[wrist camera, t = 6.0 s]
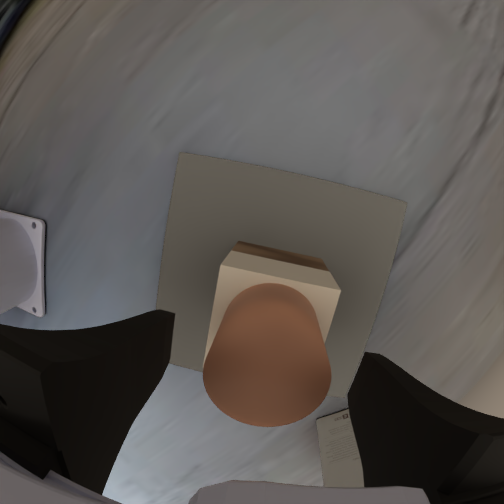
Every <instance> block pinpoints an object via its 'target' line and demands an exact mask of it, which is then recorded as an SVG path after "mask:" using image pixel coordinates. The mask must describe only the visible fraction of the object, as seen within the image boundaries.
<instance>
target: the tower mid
mask: <svg viewBox="0 0 504 504" xmlns="http://www.w3.org/2000/svg"><path fill="white" fill-rule="evenodd" d="M263 283H278V284H283V285H286V286H289V287H291V288H294V289H296V290H297V291H299V292H300V293H301V294H303V295H304V296H305V297H306V298H307V299H308V300H309V302H310V303H311V305H312V306H313V308H314V310H315V313H316V316H317V320H318V323H319V327H320V330H321V334H322V337H323V341H324V344H325V341H326V338H327V335H328V332H329V329H330V325H331V322H332V319H333V316H334V313H335V309H336V306H337V303H338V299H339V296H340V292H341V289H340V288H339V286H338V284H337V283H336V281H335V280H334V278H333V276H332V275H331V273H330V272H329V271H324V270H319V269H315V268H310V267H306V266H301V265H296V264H292V263H287V262H282V261H278V260H273V259H269V258H264V257H259V256H255V255H250V254H245V253H241V252H236V251H232V250H231V251H230V253H229V254H228V255H227V257H226V258H225V259H224V261H223V262H222V263H221V265H220V270H219V276H218V281H217V287H216V292H215V298H214V304H213V309H212V315H211V321H210V327H209V333H208V339H207V345H206V351H205V357H204V363H205V360H206V357H207V355H208V352H209V350H210V347H211V345H212V343H213V340H214V338H215V335H216V333H217V331H218V328H219V326H220V324H221V321H222V319H223V316H224V314H225V312H226V309H227V307H228V305H229V304H230V303H231V301H232V300H233V299H234V298H235V297H236V296H237V295H238V294H239V293H240V292H242V291H243V290H245V289H247V288H249V287H251V286H254V285H257V284H263ZM204 363H203V367H204Z"/></svg>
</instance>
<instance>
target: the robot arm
mask: <svg viewBox="0 0 504 504" xmlns="http://www.w3.org/2000/svg"><path fill="white" fill-rule="evenodd" d="M35 224H36V227H35ZM44 243H45V223H44V221H43V220H41V219H37V218H33V217H29V216H25V215H21V214H17V213H13V212H9V211H5V210H1V209H0V314H2V313H4V312H6V311H8V310H10V309H12V308H13V307H15V306H17V307H19V308H21V309H23V310H25V311H27V312H29V313H31V314H34V315H36V316H38V317H43V316H44V315H45V298H44ZM35 308H36V309H35ZM174 321H175V313H173V312H169V311H165V310H161V309H158V310H154V311H150V312H147V313H144V314H141V315H138V316H135V317H132V318H128V319H125V320H122V321H118V322H114V323H110V324H106V325H102V326H97V327H92V328H84V329H76V330H34V329H25V328H18V327H13V326H7V325H2V324H0V504H122V503H119V502H116V501H114V500H112V499H109V498H107V497H104V496H102V493H103V491H104V488H105V485H106V482H107V480H108V477H109V475H110V472H111V470H112V467H113V465H114V462H115V460H116V458H117V456H118V453H119V451H120V449H121V447H122V444H123V442H124V440H125V438H126V436H127V434H128V432H129V430H130V427H131V425H132V424H133V422H134V420H135V419H136V417H137V415H138V414H139V412H140V411H141V409H142V408H143V406H144V405H145V403H146V402H147V400H148V399H149V397H150V396H151V394H152V393H153V391H154V390H155V388H156V387H157V385H158V384H159V382H160V380H161V379H162V377H163V375H164V372H165V370H166V368H167V366H168V364H169V361H170V358H171V348H172V339H173V330H174ZM348 407H349V415H350V419H351V423H352V427H353V431H354V435H355V439H356V443H357V447H358V450H359V454H360V458H361V463H362V469H363V479H364V487H360V488H347V487H318V486H303V485H292V484H283V483H274V482H267V481H238V480H231V481H227V482H223V483H219V484H215V485H211V486H207V487H203V488H200V489H199V490H198V492H197V493H196V494H195V495H194V496H193V497H192V498H191V499H190V500H189V504H504V419H503V418H498V417H495V416H491V415H487V414H484V413H481V412H477V411H475V410H472V409H470V408H467V407H464V406H462V405H460V404H458V403H455V402H453V401H451V400H450V399H448V398H446V397H444V396H442V395H440V394H438V393H437V392H435V391H433V390H432V389H430V388H429V387H427V386H426V385H424V384H423V383H421V382H420V381H418V380H417V379H415V378H414V377H413V376H411V375H410V374H408V373H407V372H406V371H404V370H403V369H402V368H400V367H399V366H398V365H396V364H395V363H393V362H392V361H390V360H389V359H387V358H386V357H384V356H382V355H380V354H376V353H369V352H365V353H364V356H363V359H362V361H361V364H360V366H359V369H358V371H357V373H356V376H355V378H354V381H353V383H352V385H351V388H350V390H349V392H348Z"/></svg>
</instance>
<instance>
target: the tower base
mask: <svg viewBox="0 0 504 504" xmlns="http://www.w3.org/2000/svg"><path fill="white" fill-rule="evenodd" d="M232 251H236V252H241V253H245V254H250V255H255V256H259V257H264V258H269V259H273V260H278V261H282V262H287V263H292V264H296V265H301V266H306V267H310V268H315V269H319V270H324V271H329V270H328V268H327V267H326V265H325V263H324V262H323V260H322V259H321V258H316V257H312V256H307V255H302V254H298V253H293V252H289V251H284V250H279V249H275V248H270V247H266V246H261V245H256V244H252V243H247V242H242V241H238V242H237V243H236V245H235V246H234V247H233V248H232Z"/></svg>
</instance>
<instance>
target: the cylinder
mask: <svg viewBox="0 0 504 504" xmlns="http://www.w3.org/2000/svg"><path fill="white" fill-rule="evenodd" d="M331 375H332V374H331V366H330V363H329V359H328V355H327V352H326V348H325V344H324V341H323V337H322V334H321V330H320V327H319V323H318V320H317V316H316V313H315V310H314V308H313V306H312V305H311V303H310V302H309V300H308V299H307V298H306V297H305V296H304V295H303V294H301V293H300V292H299V291H297V290H296V289H294V288H291V287H289V286H286V285H283V284H278V283H263V284H257V285H254V286H251V287H249V288H247V289H245V290H243V291H242V292H240V293H239V294H238V295H237V296H236V297H235V298H234V299H233V300H232V301H231V303H230V304H229V305H228V307H227V309H226V312H225V314H224V316H223V319H222V321H221V324H220V326H219V328H218V331H217V333H216V335H215V338H214V340H213V343H212V345H211V347H210V350H209V352H208V355H207V357H206V360H205V363H204V367H203V381H204V386H205V388H206V391H207V393H208V395H209V397H210V399H211V400H212V401H213V403H214V404H215V405H216V406H217V407H218V408H219V409H220V410H221V411H222V412H224V413H225V414H227V415H228V416H230V417H231V418H233V419H235V420H237V421H240V422H243V423H246V424H249V425H254V426H262V427H275V426H282V425H287V424H290V423H293V422H296V421H298V420H300V419H303V418H304V417H306V416H308V415H309V414H310V413H312V412H313V411H314V410H315V409H316V408H317V407H318V406H319V405H320V404H321V403H322V402H323V400H324V399H325V397H326V395H327V393H328V391H329V388H330V384H331Z"/></svg>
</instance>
